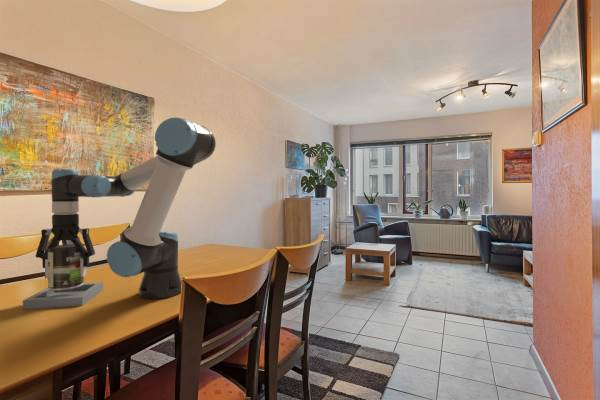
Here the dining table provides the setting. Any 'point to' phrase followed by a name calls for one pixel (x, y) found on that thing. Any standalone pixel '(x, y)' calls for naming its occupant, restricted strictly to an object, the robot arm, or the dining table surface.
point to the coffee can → (64, 267)
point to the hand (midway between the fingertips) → (66, 276)
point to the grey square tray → (63, 297)
